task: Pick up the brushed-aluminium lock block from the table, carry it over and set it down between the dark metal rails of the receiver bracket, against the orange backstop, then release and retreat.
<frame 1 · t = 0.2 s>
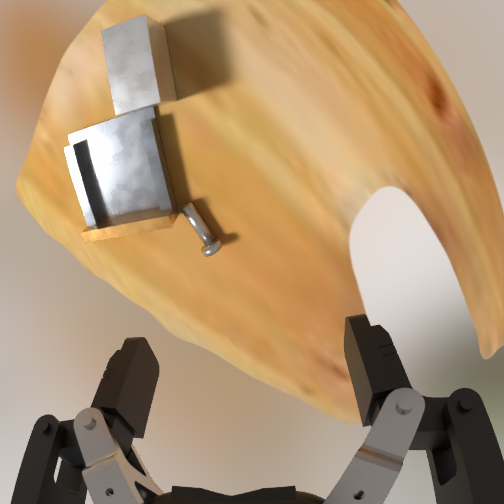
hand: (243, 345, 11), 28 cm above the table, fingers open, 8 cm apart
lock: (151, 68, 30), on the table
hitch pin: (199, 222, 40), on the table
receiver: (122, 178, 37), on the table
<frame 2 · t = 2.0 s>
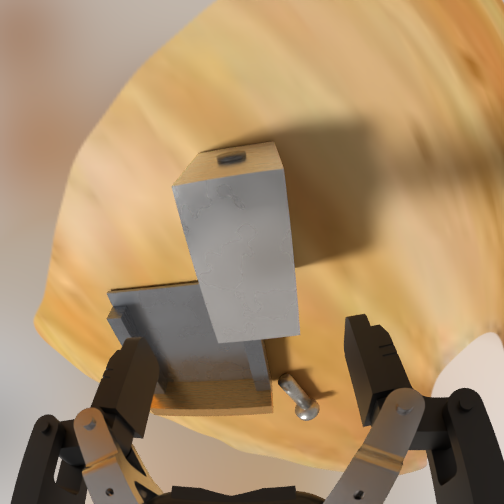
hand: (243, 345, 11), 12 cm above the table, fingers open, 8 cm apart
lock: (247, 215, 21), on the table
hitch pin: (295, 387, 32), on the table
receiver: (198, 349, 28), on the table
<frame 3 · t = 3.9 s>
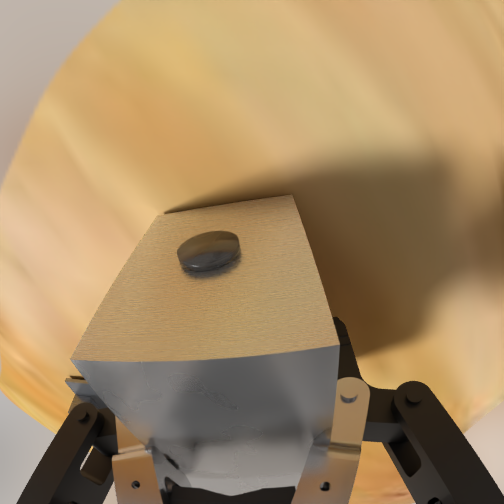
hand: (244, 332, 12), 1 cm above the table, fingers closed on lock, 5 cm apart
lock: (245, 311, 13), on the table, touching gripper
receiver: (185, 439, 20), on the table
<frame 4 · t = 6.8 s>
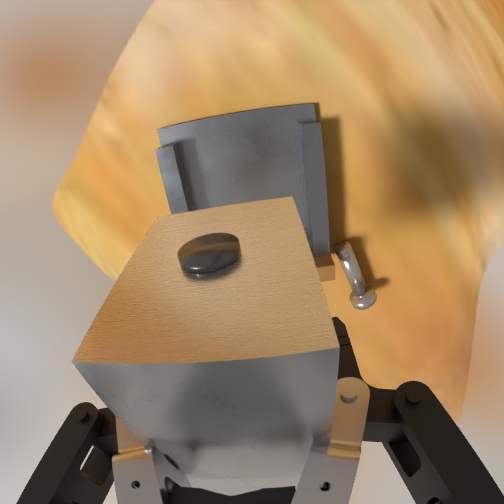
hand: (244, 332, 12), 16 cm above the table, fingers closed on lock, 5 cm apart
lock: (245, 312, 13), point 15 cm above the table, touching gripper
hitch pin: (350, 265, 30), on the table
receiver: (249, 202, 27), on the table
when the fingers open (3 cm above the table, at t = 9.9 s): lock drops 1 cm, resting on receiver.
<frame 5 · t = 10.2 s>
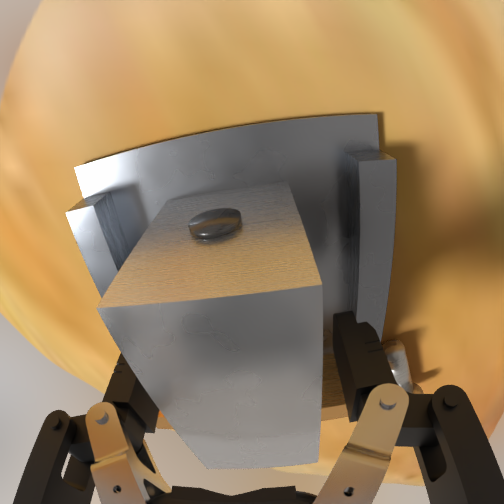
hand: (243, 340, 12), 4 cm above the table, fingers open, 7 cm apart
lock: (245, 289, 15), resting on receiver
hitch pin: (395, 365, 18), on the table
receiver: (247, 295, 15), on the table
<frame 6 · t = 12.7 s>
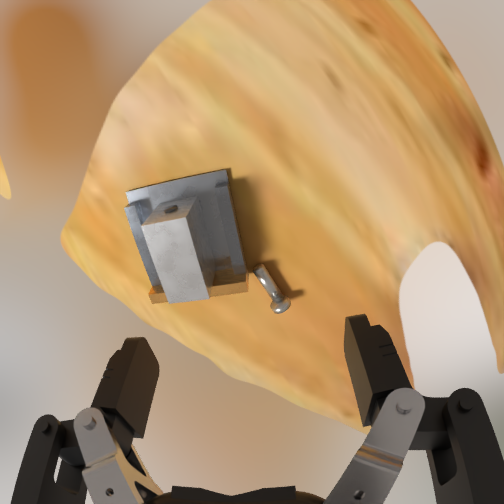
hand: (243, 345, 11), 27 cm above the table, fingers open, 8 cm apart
lock: (188, 236, 38), resting on receiver
hitch pin: (268, 280, 42), on the table
receiver: (189, 239, 39), on the table
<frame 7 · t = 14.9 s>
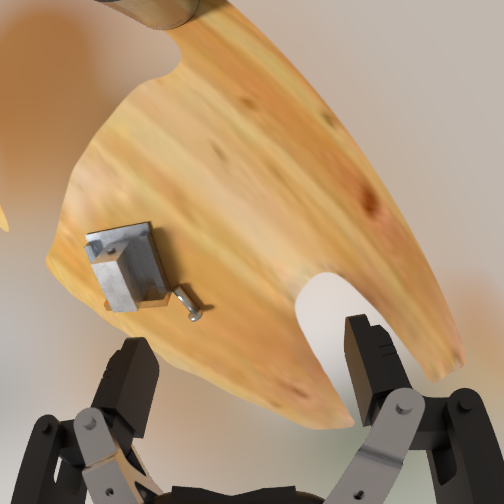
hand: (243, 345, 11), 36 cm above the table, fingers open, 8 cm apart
lock: (128, 265, 52), resting on receiver
hitch pin: (186, 297, 56), on the table
receiver: (129, 267, 53), on the table
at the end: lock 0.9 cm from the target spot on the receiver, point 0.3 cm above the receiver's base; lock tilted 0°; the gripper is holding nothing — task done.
